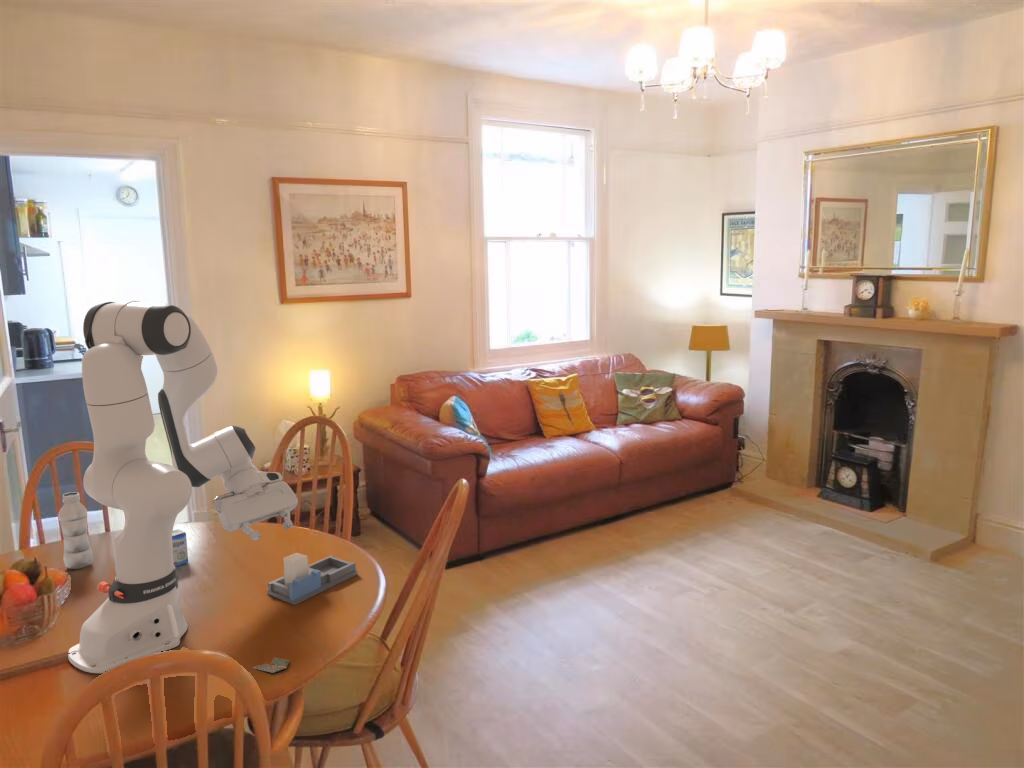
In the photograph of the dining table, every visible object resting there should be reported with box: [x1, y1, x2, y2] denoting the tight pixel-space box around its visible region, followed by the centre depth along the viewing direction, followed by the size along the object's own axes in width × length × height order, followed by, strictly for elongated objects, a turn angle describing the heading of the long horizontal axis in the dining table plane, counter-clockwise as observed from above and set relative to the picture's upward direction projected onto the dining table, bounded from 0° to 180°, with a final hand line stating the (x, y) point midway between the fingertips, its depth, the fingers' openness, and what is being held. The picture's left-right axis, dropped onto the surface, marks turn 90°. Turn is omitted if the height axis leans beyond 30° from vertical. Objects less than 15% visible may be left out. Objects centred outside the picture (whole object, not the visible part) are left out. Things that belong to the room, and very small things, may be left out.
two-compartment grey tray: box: [266, 554, 358, 606], centre depth 177 cm, size 20×11×6 cm, turn 146°
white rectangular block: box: [283, 552, 309, 587], centre depth 172 cm, size 4×4×8 cm
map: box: [232, 643, 291, 674], centre depth 145 cm, size 5×20×1 cm, turn 64°
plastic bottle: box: [57, 491, 94, 570], centre depth 185 cm, size 6×7×20 cm
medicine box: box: [172, 529, 189, 568], centre depth 187 cm, size 8×4×9 cm, turn 143°
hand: (273, 532), depth 175 cm, fingers open, 8 cm apart
